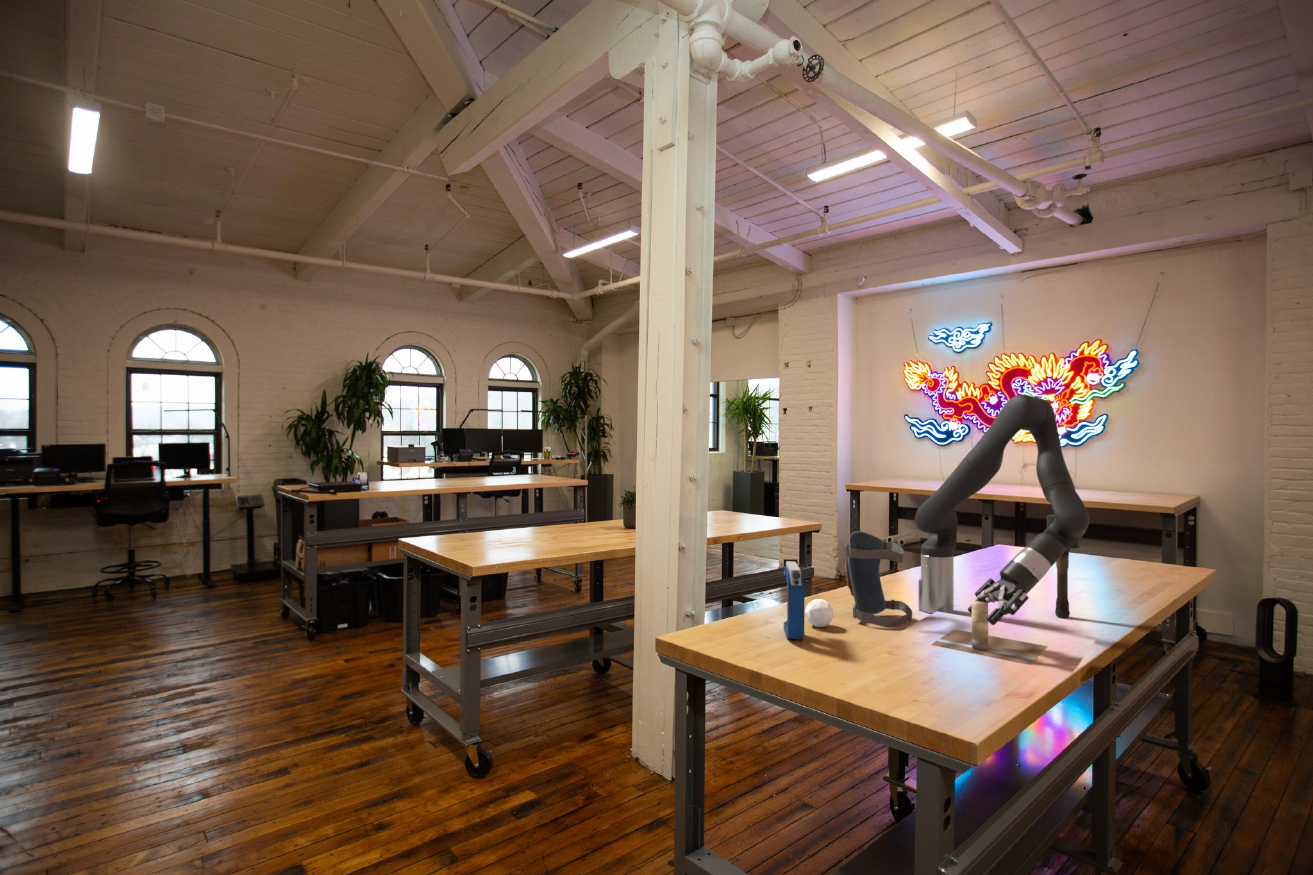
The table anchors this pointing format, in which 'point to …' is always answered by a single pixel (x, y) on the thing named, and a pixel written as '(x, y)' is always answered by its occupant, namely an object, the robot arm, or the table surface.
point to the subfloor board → (992, 647)
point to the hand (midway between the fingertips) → (979, 617)
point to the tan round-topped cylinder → (979, 625)
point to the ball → (819, 613)
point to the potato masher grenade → (1062, 579)
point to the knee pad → (872, 578)
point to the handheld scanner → (794, 600)
